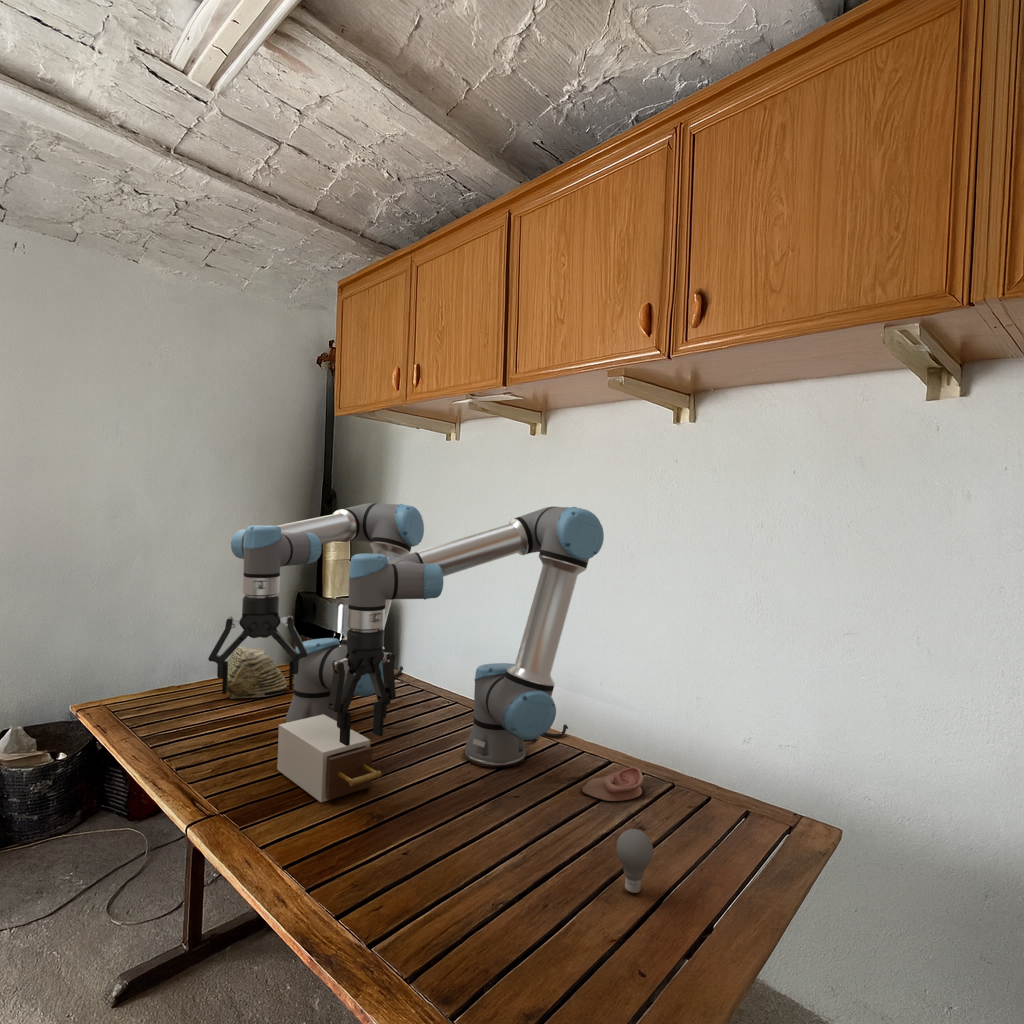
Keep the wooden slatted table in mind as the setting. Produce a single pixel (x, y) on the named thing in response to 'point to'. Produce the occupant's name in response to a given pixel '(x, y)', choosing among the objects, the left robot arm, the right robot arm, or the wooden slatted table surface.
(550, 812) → the wooden slatted table surface
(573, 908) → the wooden slatted table surface
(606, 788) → the anatomical model
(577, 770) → the wooden slatted table surface
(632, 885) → the light bulb
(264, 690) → the fossil
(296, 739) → the cabinet
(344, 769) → the drawer
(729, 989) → the wooden slatted table surface
